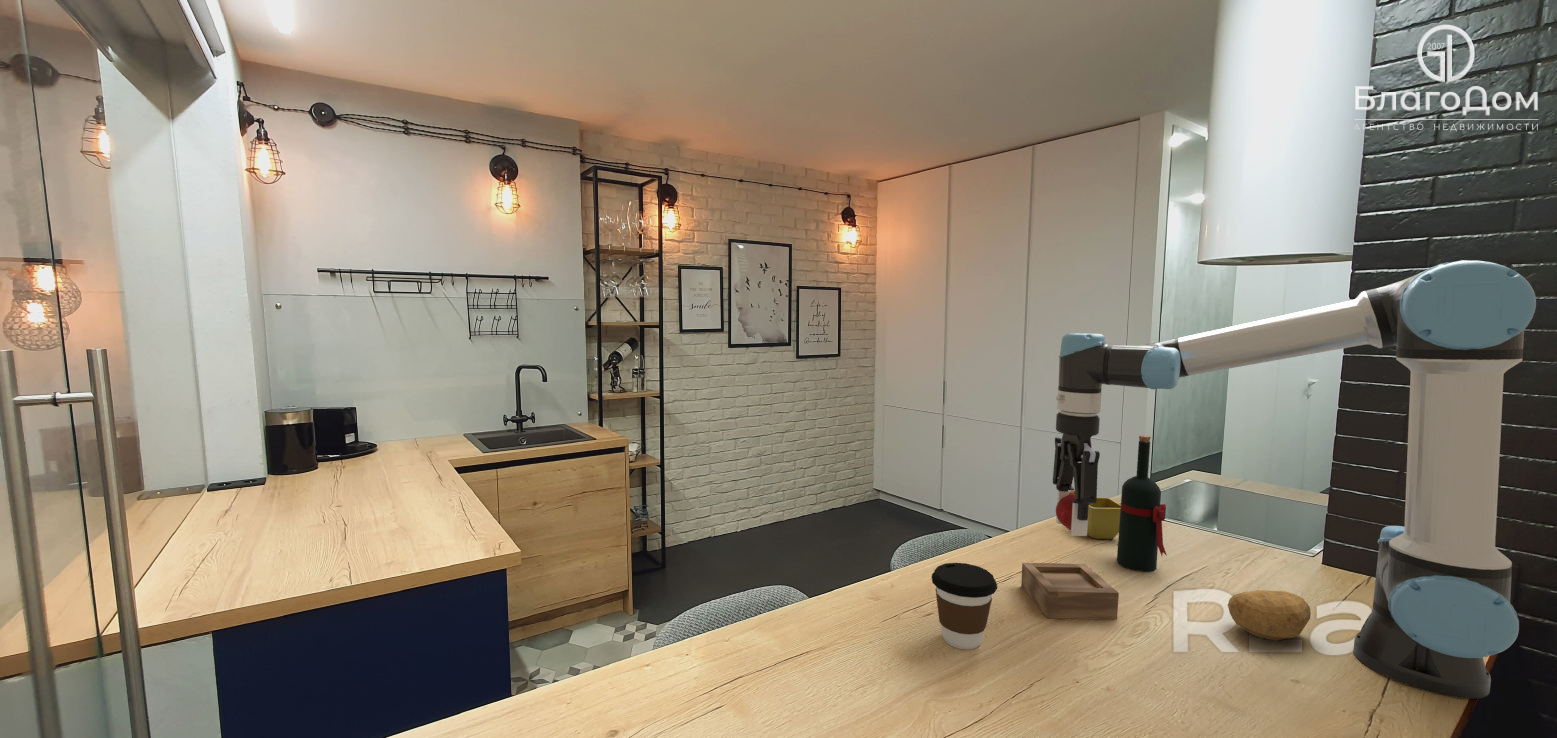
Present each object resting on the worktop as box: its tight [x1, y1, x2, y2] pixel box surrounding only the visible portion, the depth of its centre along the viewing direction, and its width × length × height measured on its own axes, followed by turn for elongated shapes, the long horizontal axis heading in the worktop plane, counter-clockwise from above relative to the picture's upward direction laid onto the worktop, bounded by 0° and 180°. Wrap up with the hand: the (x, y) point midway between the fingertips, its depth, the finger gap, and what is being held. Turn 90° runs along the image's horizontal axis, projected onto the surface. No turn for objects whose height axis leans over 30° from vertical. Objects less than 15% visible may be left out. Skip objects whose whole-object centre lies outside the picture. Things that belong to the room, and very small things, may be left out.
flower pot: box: [1087, 496, 1121, 540], centre depth 155 cm, size 9×9×9 cm
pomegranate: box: [1055, 489, 1076, 531], centre depth 117 cm, size 6×6×8 cm
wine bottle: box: [1116, 435, 1168, 573], centre depth 135 cm, size 8×10×30 cm
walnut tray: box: [1020, 562, 1120, 620], centre depth 119 cm, size 13×13×5 cm
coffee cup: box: [931, 562, 998, 650], centre depth 104 cm, size 11×11×12 cm
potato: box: [1227, 589, 1312, 641], centre depth 107 cm, size 10×14×8 cm
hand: (1071, 528), depth 118 cm, fingers closed on pomegranate, 6 cm apart
